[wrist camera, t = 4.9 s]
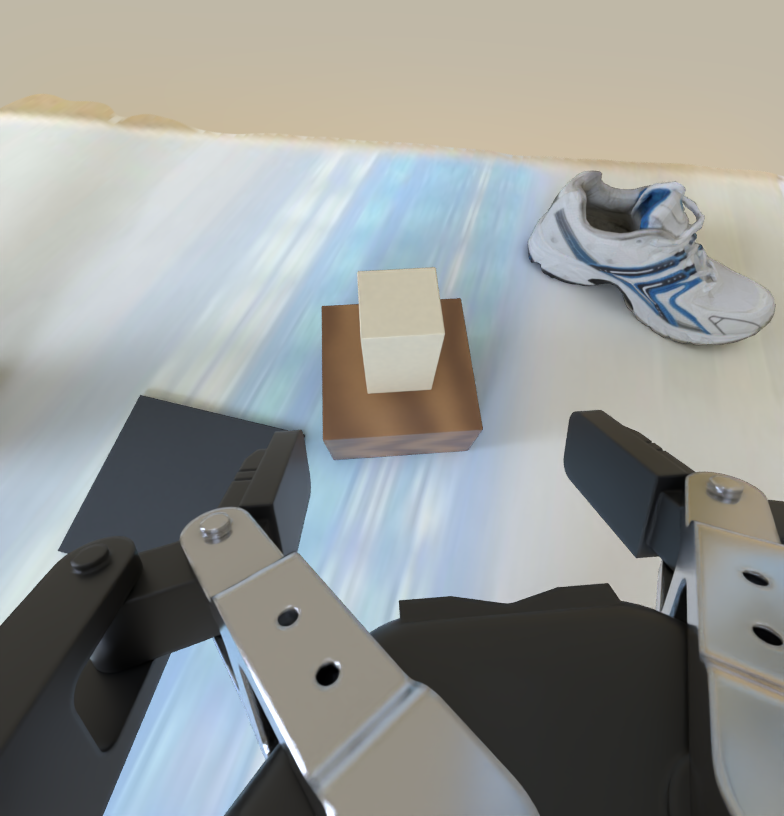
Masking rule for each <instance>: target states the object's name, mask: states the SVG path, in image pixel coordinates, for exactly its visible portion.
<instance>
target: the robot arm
mask: <svg viewBox="0 0 784 816" xmlns="http://www.w3.org/2000/svg"><path fill="white" fill-rule="evenodd" d="M564 468H565V472H566V474H567V476H568V478H569V479H570V480H571V482H572V483H573V484H574V485H575V486H576V488H577V489H578V490H579V491H580V492H581V493H582V495H583V496H584V497H585V498H586V499H587V501H588V502H589V503H590V504H591V505H592V506H593V508H594V509H595V510H596V511H597V512H598V514H599V515H600V516H601V517H602V518H603V519H604V521H605V522H606V523H607V524H608V525H609V527H610V528H611V529H612V530H613V531H614V532H615V534H616V535H617V536H618V537H619V538H620V540H621V541H622V542H623V543H624V544H625V545H626V547H627V548H628V549H629V550H630V551H631V553H632V554H633V555H634V556H635V557H636V558H644V557H656V556H659V557H660V558H661V559H662V561H661V564H660V567H659V571H658V584H657V599H656V610H654V609H651V608H648V607H645V606H642V605H638V604H634V603H629V602H624V601H620V599H619V598H618V597H617V595H616V594H615V592H614V591H613V589H612V588H611V587H610V585H609V584H608V583H605V584H593V585H580V586H568V587H557V588H554V589H551V590H549V591H546V592H543V593H540V594H537V595H534V596H531V597H528V598H525V599H523V600H520V601H517V602H514V603H508V604H506V603H497V602H490V601H482V600H475V599H468V598H460V597H453V596H448V597H436V598H424V599H412V600H400V601H399V610H400V618H399V619H396V620H393V621H391V622H388V623H386V624H384V625H382V626H380V627H378V628H377V629H375V630H373V631H372V632H370V633H369V632H368V631H367V630H366V629H365V628H364V626H363V625H362V624H361V623H360V622H359V621H358V620H357V618H356V617H355V616H354V615H353V614H352V613H351V612H350V611H349V609H348V608H347V607H346V606H345V605H344V604H343V603H342V602H341V600H340V599H339V598H338V597H337V596H336V595H335V594H334V593H333V591H332V590H331V589H330V588H329V587H328V586H327V585H326V583H325V582H324V581H323V580H322V579H321V578H320V577H319V576H318V574H317V573H316V572H315V571H314V570H313V569H312V568H311V567H310V565H309V564H308V563H307V562H306V561H305V560H304V559H303V558H302V556H301V555H300V554H298V553H297V551H298V546H299V542H300V538H301V533H302V529H303V525H304V520H305V516H306V512H307V507H308V503H309V499H310V492H311V481H310V472H309V466H308V460H307V453H306V447H305V440H304V435H303V432H302V430H292V431H278V432H275V433H274V435H273V437H272V439H271V441H270V443H269V445H268V447H267V449H257V450H256V451H255V452H253V453H252V454H251V455H250V456H248V457H247V458H246V459H245V460H244V462H243V463H242V465H241V467H240V469H239V472H237V474H236V476H235V478H234V481H232V483H231V485H230V486H229V488H228V490H227V492H226V493H225V495H224V497H223V499H222V500H221V502H220V504H219V506H218V507H217V509H214V510H211V511H208V512H206V513H204V514H202V515H200V516H198V517H197V518H195V519H194V520H192V521H191V522H190V523H189V524H188V525H187V526H186V527H185V528H184V529H183V531H182V532H181V535H180V540H179V541H177V542H173V543H170V544H167V545H163V546H160V547H156V548H153V549H149V550H146V551H142V552H139V553H138V551H137V549H136V546H135V544H134V542H133V541H132V539H130V538H128V537H124V536H111V537H106V538H102V539H98V540H95V541H92V542H90V543H87V544H85V545H83V546H81V547H79V548H77V549H75V550H74V551H72V552H70V553H69V554H67V555H66V556H64V557H63V558H62V559H61V560H60V561H58V562H57V563H56V564H55V565H54V566H53V568H52V569H51V570H50V571H49V572H48V573H47V574H46V575H45V576H44V578H43V579H42V580H41V581H40V582H39V583H38V584H37V585H36V587H35V588H34V589H33V590H32V591H31V592H30V593H29V594H28V595H27V597H26V598H25V599H24V600H23V601H22V602H21V603H20V604H19V606H18V607H17V608H16V609H15V610H14V611H13V612H12V613H11V614H10V616H9V617H8V618H7V619H6V620H5V621H4V622H3V623H2V625H1V626H0V816H103V814H104V811H105V809H106V807H107V804H108V802H109V800H110V797H111V795H112V792H113V790H114V788H115V785H116V783H117V780H118V778H119V776H120V773H121V771H122V769H123V766H124V764H125V761H126V759H127V757H128V754H129V752H130V749H131V747H132V745H133V742H134V740H135V738H136V735H137V733H138V730H139V728H140V726H141V723H142V721H143V718H144V716H145V714H146V711H147V709H148V707H149V704H150V702H151V699H152V697H153V695H154V692H155V690H156V687H157V685H158V683H159V680H160V678H161V676H162V673H163V671H164V668H165V666H166V664H167V661H168V659H169V656H170V654H171V653H172V652H175V651H178V650H180V649H183V648H186V647H189V646H191V645H194V644H197V643H199V642H202V641H205V640H207V639H210V638H213V641H214V643H215V645H216V647H217V649H218V652H219V654H220V656H221V658H222V660H223V662H224V665H225V667H226V669H227V671H228V673H229V676H230V678H231V680H232V682H233V684H234V686H235V689H236V691H237V693H238V695H239V697H240V699H241V702H242V704H243V706H244V709H245V711H246V713H247V716H248V718H249V721H250V724H251V726H252V729H253V731H254V734H255V736H256V739H257V741H258V744H259V746H260V748H261V751H262V753H263V755H264V757H265V760H266V761H265V762H264V763H263V765H262V766H261V767H260V769H259V770H258V771H257V773H256V774H255V775H254V777H253V778H252V779H251V781H250V782H249V783H248V785H247V786H246V787H245V789H244V790H243V791H242V793H241V794H240V795H239V796H238V798H237V799H236V800H235V802H234V803H233V804H232V806H231V807H230V808H229V810H228V811H227V812H226V814H225V815H224V816H784V502H783V501H774V500H767V498H766V496H765V495H764V493H763V492H762V491H760V490H759V489H758V488H756V487H755V486H753V485H751V484H749V483H747V482H745V481H743V480H741V479H738V478H735V477H732V476H729V475H725V474H720V473H714V472H695V471H693V470H692V469H690V468H689V467H688V466H686V465H685V464H683V463H682V462H680V461H679V460H678V459H676V458H675V457H673V456H672V455H671V454H669V453H668V452H666V451H663V450H662V448H661V447H659V446H658V445H656V444H655V443H652V441H651V440H649V439H648V438H646V437H645V436H644V435H642V434H641V433H639V432H637V431H635V430H633V429H630V428H628V427H625V426H623V425H622V424H620V423H619V422H617V421H616V420H615V419H613V418H612V417H611V416H609V415H608V414H606V413H605V412H604V411H602V410H592V411H577V412H573V413H572V414H571V416H570V419H569V425H568V432H567V439H566V446H565V452H564Z"/></svg>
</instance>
